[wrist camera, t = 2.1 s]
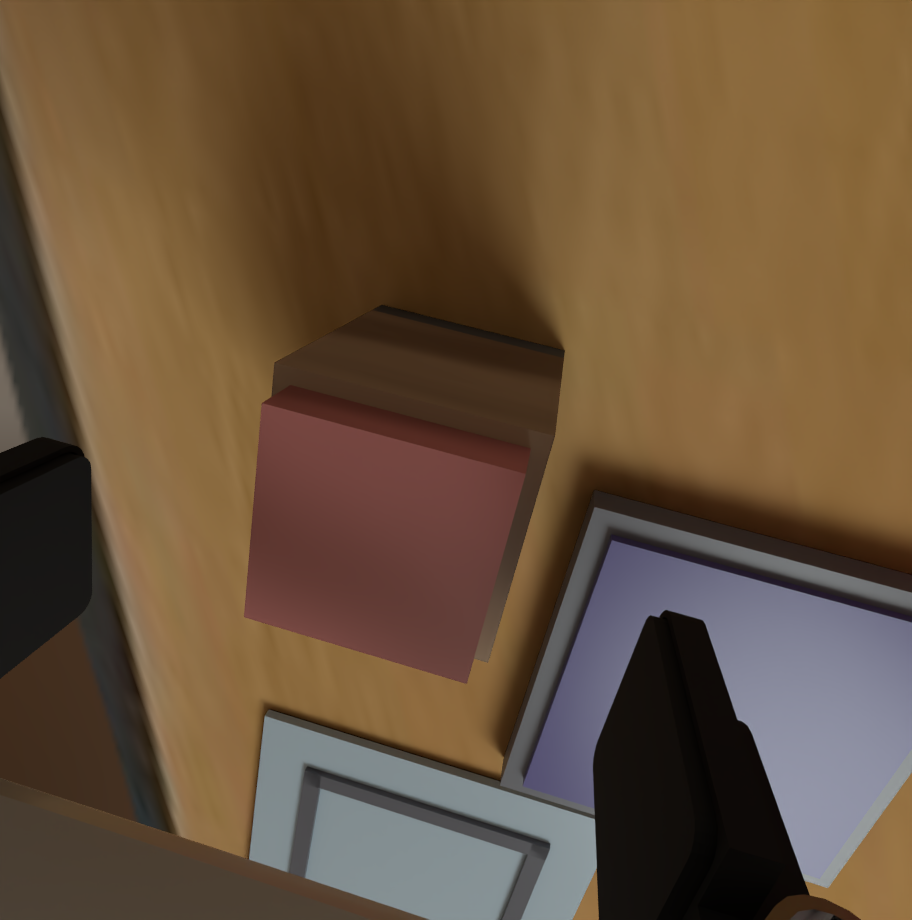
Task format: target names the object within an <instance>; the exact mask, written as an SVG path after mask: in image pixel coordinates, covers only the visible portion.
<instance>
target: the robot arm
mask: <svg viewBox="0 0 912 920" xmlns="http://www.w3.org/2000/svg"><path fill="white" fill-rule="evenodd" d="M91 595H92V524H91V465H90V462H89V460H88V459H87V458H85V457H84V454H83V452H82V450H81V449H80V448H79V447H78V446H74V445H71V444H67V443H64V442H60V441H56V440H53V439H49V438H45V437H41V438H36V439H34V440H31V441H29V442H26V443H24V444H21V445H19V446H17V447H14V448H11V449H9V450H7V451H4V452H1V453H0V678H2V677H3V676H4V675H5V674H6V673H8V672H9V671H10V670H12V669H13V668H14V667H15V666H17V665H18V664H19V663H20V662H21V661H23V660H24V659H25V658H27V657H28V656H29V655H30V654H31V653H32V652H34V651H35V650H37V649H38V648H39V647H40V646H42V645H43V644H44V643H45V642H47V641H48V640H49V639H50V638H52V637H53V636H54V635H55V634H57V633H58V632H59V631H60V630H62V629H63V628H64V627H65V626H67V625H68V624H69V623H70V622H72V621H73V620H74V619H75V618H77V617H78V616H79V615H80V614H81V613H82V612H83V611H84V610H85V609H86V607H87V606H88V604H89V602H90V599H91ZM593 786H594V810H595V835H596V859H597V883H598V907H599V920H861V919H859V918H858V917H857V916H855V915H854V914H852V913H851V912H850V911H848V910H846V909H844V908H842V907H840V906H838V905H836V904H834V903H832V902H830V901H828V900H826V899H823V898H818V897H814V896H810V895H809V892H808V889H807V887H806V884H805V881H804V878H803V875H802V872H801V870H800V867H799V864H798V861H797V858H796V856H795V853H794V850H793V847H792V844H791V842H790V839H789V836H788V833H787V830H786V828H785V825H784V822H783V819H782V816H781V814H780V811H779V808H778V805H777V802H776V799H775V797H774V794H773V791H772V788H771V785H770V783H769V780H768V777H767V774H766V771H765V769H764V766H763V763H762V760H761V757H760V755H759V752H758V749H757V746H756V743H755V741H754V738H753V735H752V733H751V731H750V729H749V727H748V725H746V724H745V723H744V722H742V721H739V720H737V717H736V714H735V711H734V708H733V705H732V702H731V699H730V696H729V693H728V690H727V687H726V684H725V681H724V678H723V675H722V672H721V669H720V666H719V663H718V660H717V657H716V654H715V651H714V648H713V646H712V643H711V640H710V637H709V634H708V631H707V628H706V625H705V623H704V621H703V620H701V619H697V618H694V617H690V616H687V615H683V614H679V613H676V612H672V611H669V610H665V611H663V612H662V613H661V615H660V616H659V617H655V616H652V615H650V616H648V618H647V619H646V621H645V623H644V626H643V628H642V631H641V633H640V636H639V638H638V641H637V643H636V646H635V648H634V651H633V653H632V656H631V658H630V661H629V663H628V666H627V668H626V671H625V673H624V676H623V678H622V681H621V683H620V686H619V689H618V691H617V694H616V696H615V699H614V701H613V704H612V706H611V709H610V711H609V714H608V716H607V719H606V721H605V724H604V726H603V729H602V731H601V734H600V736H599V739H598V741H597V744H596V748H595V752H594V758H593ZM0 920H429V919H426V918H423V917H420V916H417V915H414V914H411V913H408V912H405V911H402V910H399V909H396V908H393V907H390V906H387V905H384V904H381V903H378V902H375V901H372V900H369V899H366V898H363V897H360V896H357V895H354V894H351V893H348V892H345V891H342V890H339V889H336V888H333V887H330V886H327V885H324V884H321V883H318V882H315V881H312V880H309V879H306V878H303V877H300V876H297V875H294V874H291V873H288V872H285V871H282V870H279V869H276V868H273V867H270V866H267V865H264V864H261V863H258V862H255V861H252V860H249V859H246V858H243V857H240V856H237V855H234V854H231V853H228V852H225V851H222V850H219V849H216V848H213V847H210V846H207V845H204V844H201V843H198V842H195V841H191V840H188V839H185V838H182V837H179V836H176V835H173V834H170V833H167V832H164V831H161V830H158V829H155V828H152V827H149V826H146V825H143V824H139V823H136V822H133V821H130V820H127V819H124V818H121V817H118V816H115V815H112V814H108V813H106V812H103V811H100V810H97V809H93V808H90V807H87V806H84V805H81V804H78V803H75V802H72V801H69V800H66V799H63V798H60V797H57V796H53V795H50V794H47V793H44V792H41V791H38V790H35V789H32V788H29V787H26V786H23V785H20V784H16V783H13V782H10V781H7V780H4V779H1V778H0Z"/></svg>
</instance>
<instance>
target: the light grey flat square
mask: <svg viewBox="0 0 912 920" xmlns="http://www.w3.org/2000/svg"><path fill="white" fill-rule="evenodd" d="M249 860H252V861H255V862H258V863H261V864H264V865H267V866H270V867H273V868H276V869H279V870H282V871H285V872H288V873H291V874H294V875H297V876H300V877H303V878H306V879H309V880H312V881H315V882H318V883H321V884H324V885H327V886H330V887H333V888H336V889H339V890H342V891H345V892H348V893H351V894H354V895H357V896H360V897H363V898H366V899H369V900H372V901H375V902H378V903H381V904H384V905H387V906H390V907H393V908H396V909H399V910H402V911H405V912H408V913H411V914H414V915H417V916H420V917H423V918H426V919H429V920H572V919H573V917H574V915H575V913H576V911H577V908H578V906H579V904H580V902H581V900H582V898H583V896H584V894H585V891H586V889H587V887H588V885H589V883H590V881H591V879H592V877H593V874H594V872H595V870H596V868H597V859H596V835H595V815H593V814H590V813H586V812H583V811H580V810H577V809H574V808H570V807H567V806H564V805H561V804H558V803H554V802H551V801H548V800H545V799H542V798H538V797H535V796H532V795H529V794H526V793H522V792H519V791H516V790H513V789H510V788H506V787H503V786H500V781H497V780H494V779H490V778H487V777H484V776H481V775H477V774H474V773H471V772H468V771H465V770H461V769H458V768H455V767H452V766H449V765H445V764H442V763H439V762H436V761H433V760H429V759H426V758H423V757H420V756H417V755H413V754H410V753H407V752H404V751H401V750H397V749H394V748H391V747H388V746H385V745H381V744H378V743H375V742H372V741H368V740H365V739H362V738H359V737H356V736H352V735H349V734H346V733H343V732H340V731H336V730H333V729H330V728H327V727H324V726H320V725H317V724H314V723H311V722H308V721H304V720H301V719H298V718H295V717H292V716H288V715H285V714H282V713H279V712H276V711H272V710H268V711H267V713H266V715H265V718H264V727H263V736H262V745H261V755H260V764H259V773H258V782H257V791H256V800H255V809H254V819H253V828H252V837H251V846H250V855H249Z"/></svg>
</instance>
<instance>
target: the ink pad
mask: <svg viewBox="0 0 912 920" xmlns="http://www.w3.org/2000/svg"><path fill="white" fill-rule="evenodd" d="M665 610H669V611H672V612H676V613H679V614H683V615H687V616H690V617H694V618H697V619H701V620H703V621H704V623H705V625H706V628H707V631H708V634H709V637H710V640H711V643H712V646H713V648H714V651H715V654H716V657H717V660H718V663H719V666H720V669H721V672H722V675H723V678H724V681H725V684H726V687H727V690H728V693H729V696H730V699H731V702H732V705H733V708H734V711H735V714H736V717H737V720H739V721H742V722H744V723H745V724H746V725H748V727H749V729H750V731H751V733H752V735H753V738H754V741H755V743H756V746H757V749H758V752H759V755H760V757H761V760H762V763H763V766H764V769H765V771H766V774H767V777H768V780H769V783H770V785H771V788H772V791H773V794H774V797H775V799H776V802H777V805H778V808H779V811H780V814H781V816H782V819H783V822H784V825H785V828H786V830H787V833H788V836H789V839H790V842H791V844H792V847H793V850H794V853H795V856H796V858H797V861H798V864H799V867H800V870H801V872H802V875H803V878H804V881H807V882H810V883H814V884H817V885H820V886H823V887H826V888H828V887H829V886H830V884H831V883H832V882H833V880H834V879H835V877H836V876H837V875H838V873H839V872H840V870H841V869H842V868H843V866H844V865H845V864H846V862H847V861H848V859H849V858H850V857H851V855H852V854H853V853H854V851H855V850H856V848H857V847H858V846H859V844H860V843H861V842H862V840H863V839H864V837H865V836H866V835H867V833H868V832H869V830H870V829H871V828H872V826H873V825H874V824H875V822H876V821H877V819H878V818H879V817H880V815H881V814H882V813H883V811H884V810H885V808H886V807H887V806H888V804H889V803H890V802H891V800H892V799H893V797H894V796H895V795H896V793H897V792H898V790H899V789H900V788H901V786H902V785H903V784H904V782H905V781H906V779H907V778H908V777H909V775H910V774H911V773H912V575H910V574H906V573H903V572H899V571H895V570H891V569H888V568H884V567H880V566H876V565H873V564H869V563H865V562H861V561H858V560H854V559H850V558H847V557H843V556H839V555H835V554H832V553H828V552H824V551H820V550H817V549H813V548H809V547H806V546H802V545H798V544H794V543H791V542H787V541H783V540H779V539H776V538H772V537H768V536H764V535H761V534H757V533H753V532H750V531H746V530H742V529H738V528H735V527H731V526H727V525H723V524H720V523H716V522H712V521H709V520H705V519H701V518H697V517H694V516H690V515H686V514H682V513H679V512H675V511H671V510H667V509H664V508H660V507H656V506H653V505H649V504H645V503H641V502H638V501H634V500H630V499H626V498H623V497H619V496H615V495H611V494H608V493H604V492H600V491H597V490H594V491H593V494H592V497H591V500H590V503H589V506H588V509H587V512H586V515H585V518H584V521H583V524H582V527H581V530H580V533H579V536H578V539H577V542H576V545H575V548H574V551H573V554H572V557H571V560H570V563H569V566H568V569H567V572H566V575H565V578H564V581H563V584H562V587H561V590H560V593H559V596H558V599H557V602H556V604H555V607H554V610H553V613H552V616H551V619H550V622H549V625H548V628H547V631H546V634H545V637H544V640H543V643H542V646H541V649H540V652H539V655H538V658H537V661H536V664H535V667H534V670H533V673H532V676H531V679H530V682H529V685H528V688H527V691H526V694H525V697H524V700H523V703H522V706H521V709H520V712H519V715H518V718H517V721H516V723H515V726H514V729H513V732H512V735H511V738H510V741H509V744H508V747H507V750H506V753H505V756H504V759H503V766H502V773H501V780H500V786H503V787H506V788H510V789H513V790H516V791H519V792H522V793H526V794H529V795H532V796H535V797H538V798H542V799H545V800H548V801H551V802H554V803H558V804H561V805H564V806H567V807H570V808H574V809H577V810H580V811H583V812H586V813H590V814H593V815H595V810H594V786H593V758H594V752H595V748H596V744H597V741H598V739H599V736H600V734H601V731H602V729H603V726H604V724H605V721H606V719H607V716H608V714H609V711H610V709H611V706H612V704H613V701H614V699H615V696H616V694H617V691H618V689H619V686H620V683H621V681H622V678H623V676H624V673H625V671H626V668H627V666H628V663H629V661H630V658H631V656H632V653H633V651H634V648H635V646H636V643H637V641H638V638H639V636H640V633H641V631H642V628H643V626H644V623H645V621H646V619H647V618H648V616H650V615H652V616H655V617H659V616H660V615H661V613H662V612H663V611H665Z"/></svg>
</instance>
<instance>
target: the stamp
mask: <svg viewBox="0 0 912 920" xmlns="http://www.w3.org/2000/svg"><path fill="white" fill-rule="evenodd" d="M564 352H565V350H561V349H557V348H553V347H549V346H545V345H541V344H537V343H533V342H529V341H525V340H520V339H516V338H512V337H508V336H504V335H500V334H496V333H492V332H488V331H484V330H480V329H476V328H472V327H468V326H464V325H460V324H456V323H452V322H448V321H444V320H440V319H436V318H432V317H428V316H424V315H420V314H416V313H412V312H408V311H404V310H400V309H396V308H392V307H388V306H384V305H381V306H379V307H377V308H375V309H373V310H372V311H370V312H368V313H366V314H364V315H362V316H360V317H359V318H357V319H355V320H353V321H351V322H349V323H347V324H345V325H344V326H342V327H340V328H338V329H336V330H334V331H332V332H331V333H329V334H327V335H325V336H323V337H321V338H319V339H318V340H316V341H314V342H312V343H310V344H308V345H306V346H305V347H303V348H301V349H299V350H297V351H295V352H293V353H292V354H290V355H288V356H286V357H284V358H282V359H280V360H279V361H277V362H275V363H274V375H273V386H272V397H271V398H269V399H268V400H266V401H265V402H263V403H262V409H261V421H260V432H259V444H258V456H257V468H256V480H255V492H254V504H253V516H252V528H251V540H250V552H249V564H248V576H247V588H246V600H245V612H244V617H245V618H249V619H252V620H255V621H259V622H262V623H265V624H269V625H272V626H275V627H279V628H282V629H286V630H289V631H292V632H296V633H299V634H302V635H306V636H309V637H312V638H316V639H319V640H322V641H326V642H329V643H332V644H336V645H339V646H342V647H346V648H349V649H352V650H356V651H359V652H362V653H366V654H369V655H372V656H376V657H379V658H382V659H386V660H389V661H392V662H396V663H399V664H402V665H406V666H409V667H412V668H416V669H419V670H422V671H426V672H429V673H432V674H436V675H439V676H442V677H446V678H449V679H452V680H456V681H459V682H462V683H466V684H467V681H468V677H469V674H470V670H471V667H472V663H473V660H474V659H477V660H481V661H484V662H488V661H489V658H490V654H491V651H492V647H493V644H494V641H495V637H496V634H497V630H498V627H499V624H500V620H501V617H502V614H503V610H504V607H505V603H506V600H507V597H508V593H509V590H510V586H511V583H512V580H513V576H514V573H515V570H516V566H517V563H518V559H519V556H520V553H521V549H522V546H523V542H524V539H525V536H526V532H527V529H528V525H529V522H530V519H531V515H532V512H533V509H534V505H535V502H536V498H537V495H538V492H539V488H540V485H541V481H542V478H543V475H544V471H545V468H546V464H547V461H548V458H549V454H550V451H551V448H552V444H553V441H554V437H555V431H556V422H557V413H558V405H559V396H560V387H561V379H562V370H563V361H564Z"/></svg>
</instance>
